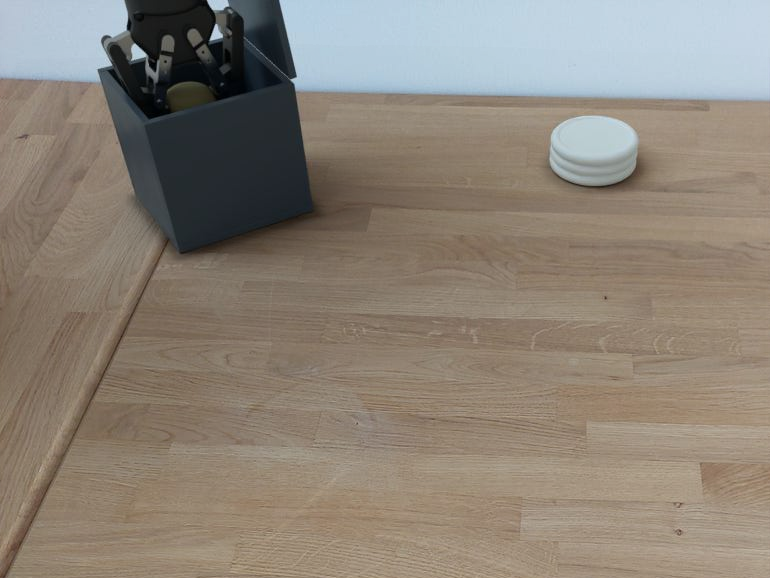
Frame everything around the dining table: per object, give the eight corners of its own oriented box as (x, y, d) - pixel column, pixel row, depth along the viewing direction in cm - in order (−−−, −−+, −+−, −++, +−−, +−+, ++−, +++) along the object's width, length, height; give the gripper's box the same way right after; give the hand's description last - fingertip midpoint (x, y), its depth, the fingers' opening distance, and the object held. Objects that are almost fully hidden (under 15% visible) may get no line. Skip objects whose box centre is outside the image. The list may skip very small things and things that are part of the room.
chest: (180, 253, 101) (144, 124, 91) (135, 195, 108) (96, 68, 97) (313, 210, 106) (294, 83, 95) (262, 157, 113) (239, 32, 102)
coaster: (652, 163, 112) (657, 132, 109) (600, 198, 107) (603, 167, 105) (584, 135, 116) (587, 104, 113) (531, 167, 111) (532, 136, 109)
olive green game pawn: (172, 196, 105) (143, 91, 96) (211, 173, 108) (186, 68, 99) (212, 214, 103) (186, 107, 94) (250, 189, 106) (229, 83, 97)
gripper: (88, -26, 83) (144, 168, 96) (243, -60, 87) (275, 131, 101) (61, -55, 86) (119, 137, 100) (211, -86, 91) (246, 102, 105)
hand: (197, 133), depth 100 cm, fingers closed on olive green game pawn, 5 cm apart
